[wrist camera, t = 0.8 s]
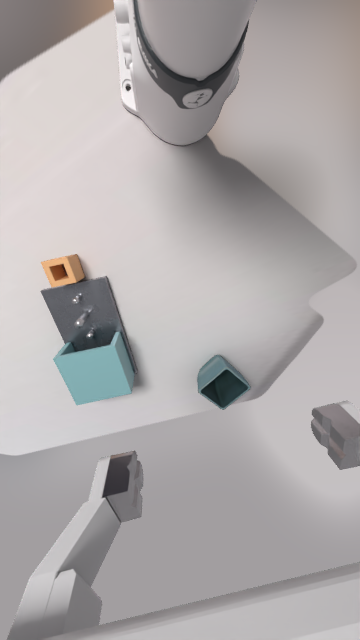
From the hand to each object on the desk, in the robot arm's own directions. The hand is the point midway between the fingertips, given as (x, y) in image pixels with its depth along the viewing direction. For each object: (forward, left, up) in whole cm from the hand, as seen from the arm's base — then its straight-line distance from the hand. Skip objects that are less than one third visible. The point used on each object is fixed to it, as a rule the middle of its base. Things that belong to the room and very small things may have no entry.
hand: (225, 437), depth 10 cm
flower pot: (+25, +6, -39) cm, 47 cm away
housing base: (+9, -20, -39) cm, 44 cm away
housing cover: (+15, -20, -37) cm, 45 cm away
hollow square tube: (-6, -20, -39) cm, 44 cm away
